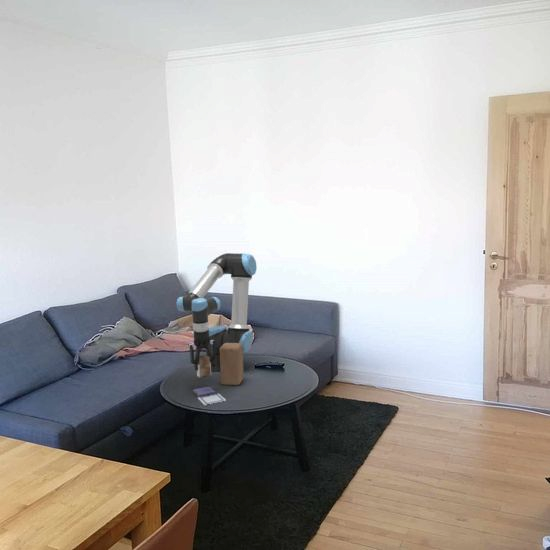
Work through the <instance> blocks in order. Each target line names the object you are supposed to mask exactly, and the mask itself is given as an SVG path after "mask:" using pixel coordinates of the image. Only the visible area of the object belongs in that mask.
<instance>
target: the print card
mask: <svg viewBox="0 0 550 550" xmlns="http://www.w3.org/2000/svg"><path fill="white" fill-rule="evenodd" d="M197 399H198V401H199V402H200V403H201V404H202V405H203V406H208V405H207V404H210V405H214V404H218V402H219V403H224V402H227V399H226V398H225V397H223V396H222V395H221V394H220V393H216V394H214V395H209V396H204V397H197ZM223 401H224V402H223ZM213 403H214V404H213Z"/></svg>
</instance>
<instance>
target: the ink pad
mask: <svg viewBox="0 0 550 550" xmlns="http://www.w3.org/2000/svg"><path fill="white" fill-rule="evenodd" d="M192 393H194V394H195V395H196V396H197V398H199V397H203V396H208V395H214V394H217V392H216V390H215V389H214V388H212V387H211V386H206V387H200V388H195V389H192Z"/></svg>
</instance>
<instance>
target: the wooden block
mask: <svg viewBox="0 0 550 550" xmlns="http://www.w3.org/2000/svg"><path fill="white" fill-rule="evenodd" d="M243 354H244V352H243V349H242V344H241V343H224V344H223V345H222V346H221V347H220V370H221V371H220V384H221V385H223V386H225V385H227V386H240V384H241V383H242V382H243V380H244V377H245V376H244V355H243Z"/></svg>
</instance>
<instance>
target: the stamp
mask: <svg viewBox="0 0 550 550" xmlns="http://www.w3.org/2000/svg"><path fill="white" fill-rule="evenodd" d="M198 364H199V365H200V377H199V378H201V379H206V378H209V377H211V376H212V371H211V372H210V357H209V356H207V354H206V353H205V354H201V355H199V361H198Z"/></svg>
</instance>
